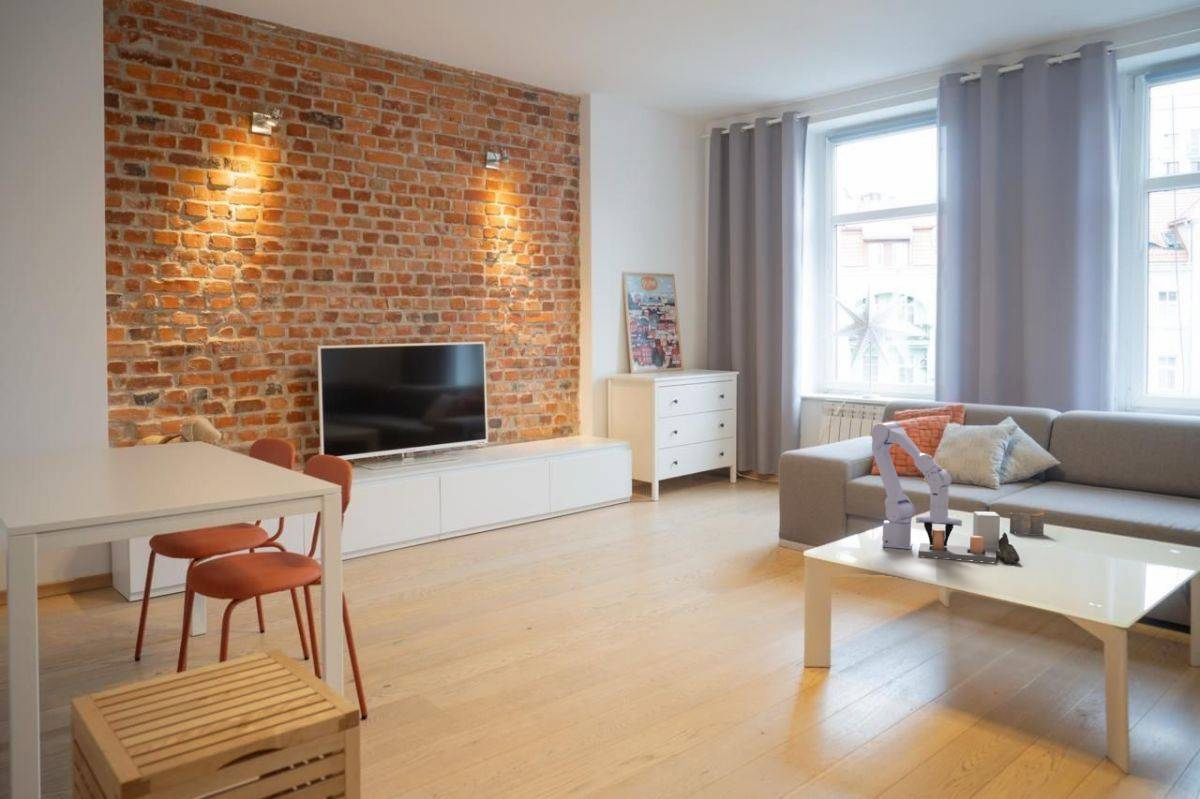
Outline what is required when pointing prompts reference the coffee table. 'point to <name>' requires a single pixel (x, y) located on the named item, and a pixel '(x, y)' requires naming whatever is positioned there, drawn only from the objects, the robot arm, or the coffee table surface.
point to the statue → (1007, 550)
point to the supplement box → (987, 528)
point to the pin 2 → (976, 544)
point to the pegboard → (957, 553)
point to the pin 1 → (938, 539)
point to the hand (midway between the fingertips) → (938, 545)
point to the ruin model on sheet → (1027, 523)
